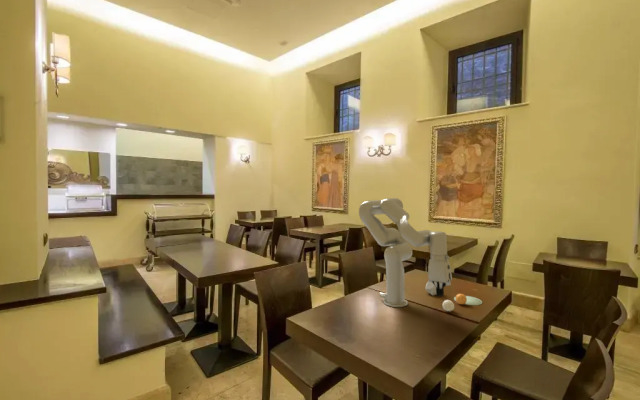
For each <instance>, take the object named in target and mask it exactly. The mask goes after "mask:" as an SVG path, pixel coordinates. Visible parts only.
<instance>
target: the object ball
mask: <svg viewBox="0 0 640 400" xmlns="http://www.w3.org/2000/svg"><path fill="white" fill-rule="evenodd" d="M466 296H467V295H465V294H463V293H457V294H456V295H455V297H456V298H455V299H456V301H455V302H456V303H457V304H458V305H466V304H465V303H466V302H467V298H466Z"/></svg>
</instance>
